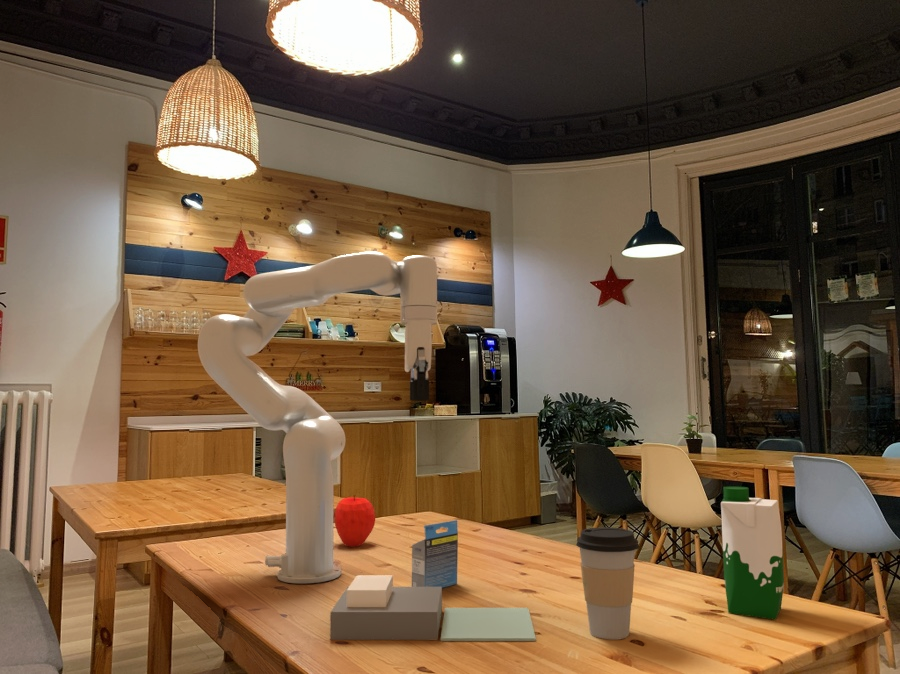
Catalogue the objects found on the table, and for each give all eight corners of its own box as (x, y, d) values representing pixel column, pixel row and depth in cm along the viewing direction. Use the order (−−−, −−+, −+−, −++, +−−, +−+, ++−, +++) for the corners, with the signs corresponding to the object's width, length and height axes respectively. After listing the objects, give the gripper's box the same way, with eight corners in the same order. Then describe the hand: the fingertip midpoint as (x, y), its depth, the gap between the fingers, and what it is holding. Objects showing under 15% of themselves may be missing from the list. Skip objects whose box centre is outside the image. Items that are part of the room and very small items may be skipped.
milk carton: (731, 600, 121) (726, 484, 123) (788, 608, 116) (782, 487, 118) (721, 613, 114) (715, 489, 115) (782, 622, 109) (775, 493, 111)
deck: (330, 639, 103) (330, 612, 104) (347, 611, 117) (347, 586, 118) (437, 639, 103) (437, 611, 103) (441, 611, 117) (441, 586, 117)
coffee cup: (571, 624, 109) (569, 527, 111) (629, 622, 110) (626, 525, 111) (588, 645, 100) (585, 539, 101) (652, 642, 101) (648, 537, 102)
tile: (346, 607, 106) (346, 590, 106) (356, 590, 115) (356, 575, 115) (385, 607, 106) (385, 590, 106) (392, 590, 115) (392, 575, 115)
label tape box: (444, 580, 136) (443, 517, 137) (459, 584, 134) (458, 519, 135) (410, 590, 130) (410, 523, 131) (425, 594, 127) (425, 525, 128)
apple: (383, 543, 172) (383, 493, 173) (357, 551, 164) (357, 498, 165) (352, 539, 177) (352, 491, 178) (325, 547, 169) (326, 496, 170)
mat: (440, 640, 102) (440, 638, 102) (445, 610, 117) (445, 607, 117) (535, 641, 102) (535, 638, 102) (528, 610, 117) (528, 607, 117)
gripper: (398, 321, 150) (399, 400, 149) (402, 311, 133) (402, 401, 132) (433, 321, 151) (433, 400, 150) (441, 311, 134) (442, 400, 132)
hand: (419, 400), depth 141 cm, fingers open, 9 cm apart
